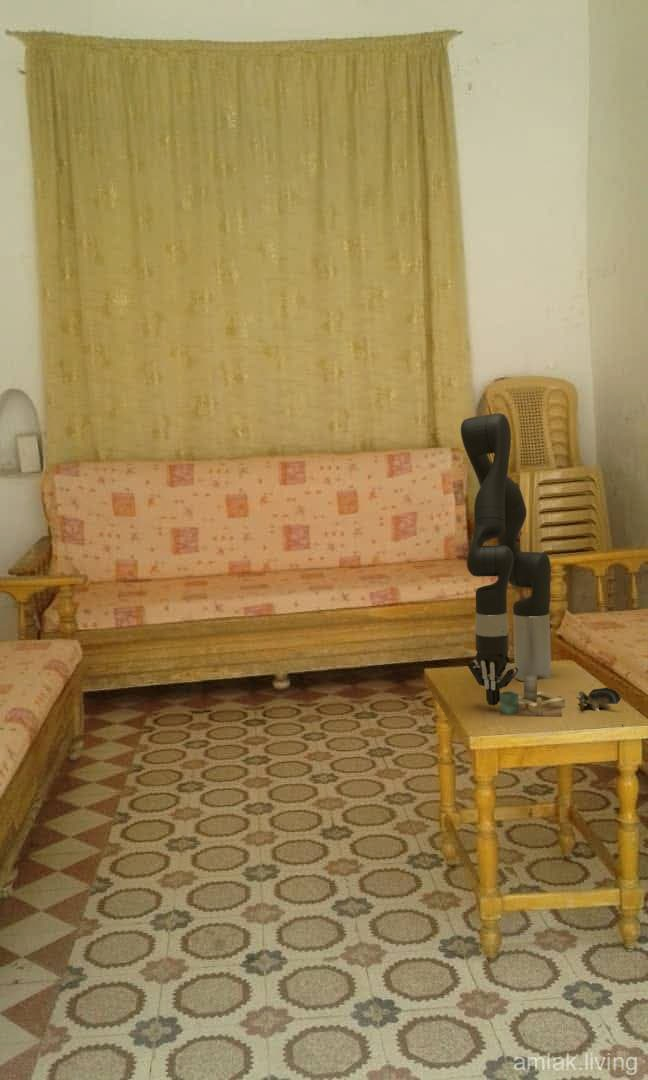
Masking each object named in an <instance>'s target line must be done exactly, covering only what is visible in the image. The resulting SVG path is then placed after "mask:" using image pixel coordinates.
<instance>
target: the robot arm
mask: <svg viewBox="0 0 648 1080" xmlns="http://www.w3.org/2000/svg"><path fill="white" fill-rule="evenodd" d="M510 425H511V424H510V422H509V419H508V418H507V416H506V415H505V414H503V413H500V412H499V413H497V412H496V413H490V414H483V415H478V416H473V417H472V416H471V417H468V418H465V419H463V421H462V423H461V425H460V436H461V440H462V444H463V447H464V450H465V452H466V454H467V455H466V456H467V457H468V459H469V461H470V464H471V466H472V469H473V471H474V473H475V475H476V479H477V480H478V484H479V486H480V488H479V489H478V491H477V493H476V496H475V499H474V507H473V510H474V511H473V512H474V513H473V515H474V518H473V519H474V520H473V521H474V522H473V523H474V527H473V535H472V540H471V544H470V546H469V550H468V554H467V558H466V568H467V571H468V572H469V573H470V574H471V575H472V576H473V577H498V578H497V580H495V582H494V583H491V584H488V585H483V586H480V587H478V588H477V589H476V590H475V621H474V629H475V631H474V632H475V634H474V635H475V636H474V637H475V639H474V640H475V651H476V655H475V659H474V660H472V661H470V662H468V663H467V667H468V669H469V671H470V672H471V674H472V675H473V677H474V679H475V680H476V682H477V683H478V685H479V686H482V687H484V688H485V695H486V697H485V698H486V699H485V700H486V702H487V705H488V706H496V705H498V704H499V703H500V693H501V692H500V690H502V689H503V688H506V687H507V686H509V684H510V682H512V680H513V679H516V680H518V681H522V682H524V676H525V675H535V676H537V681H538V680H545V679H546V680H547V679H551V678H552V672H551V671H552V669H551V667H552V666H551V665H552V663H551V661H552V660H551V631H550V630H551V624H550V623H551V622H550V604H551V581H552V579H551V578H552V572H551V571H552V568H551V566H552V565H551V561H550V558H549V556H548V554H547V553H545V552H540V551H539V552H536V551H521V550H520V548H519V545H518V537H519V534H520V532H521V530H522V528H523V526H524V523H525V521H526V518H527V507H526V503H525V501H524V497H523V493H522V492H521V488H520V487H519V485H518V484H516V482H515V481H514V480H512V479H511V478H510V477H509V476H508V472H509V463H510V454H511V445H512V442H511V441H512V431H511V426H510ZM489 454H493V455H494V456H493V460H492V461H491V460H490V457H489V456H488V455H489ZM494 539H497V543H498V545H484V544H485V543H486V542H487V541H490V540H494ZM509 584H510V585H511V586H513V587H516V588H528V589H529V588H531V589H532V590H531V595H530V596H528V597H526V598H522V599H519V600H517V601H515V602H514V603H513V605H512V611H513V612H512V614H513V615H512V617H513V621H512V622H513V643H514V644H513V645H514V647H513V648H514V653H513V654H514V666H513V665H511V663H510V658H509V656H508V655H509V654H508V653H509V619H508V608H507V607H508V606H507V605H508V603H507V600H508V599H507V598H508V597H507V594H508V593H507V592H508V586H509Z"/></svg>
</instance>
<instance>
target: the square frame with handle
mask: <svg viewBox="0 0 648 1080" xmlns="http://www.w3.org/2000/svg"><path fill="white" fill-rule="evenodd" d="M556 696H557V695H553V694H550V693H546V692H543V691H540V690H537V698H542V712H544V711H549V710H553V709H558V708H562V709H563V708H565V707H566V704H565V703H566V701H565V698H562V697H561V698H559V697H556ZM499 706H500V708H499V713H500V712H503V713H505V714H508V715H509V714H514V713H518V712H522V711H528V712H531V713H534V714H535V713H537V702H536V703H535V702H532V701H529V700H526V699H524V694H521V695H519V693H518V692H514V691H512V690H507V691H504V692H500V701H499Z"/></svg>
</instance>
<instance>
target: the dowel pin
mask: <svg viewBox="0 0 648 1080" xmlns="http://www.w3.org/2000/svg"><path fill="white" fill-rule="evenodd" d="M537 716H542V698H537Z"/></svg>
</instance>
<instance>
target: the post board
mask: <svg viewBox="0 0 648 1080" xmlns="http://www.w3.org/2000/svg"><path fill="white" fill-rule="evenodd" d="M537 692H538V680H537V676H535V675H525V676H524V681H523V695H524V699H526V700H529V701H532V702H535V703H536V702H537ZM555 696H556V697H559V698H562V696H561V695H555ZM498 716H499V717H529V718H530V717H532V718H533V717H534V718H535V717H540V718H541V717H542V718H543V717H545V718H546V717H548V718H550V717H551V718H553V717H555V718H556V717H557V718H562V717H563V707H562V708H558V709H553V710H549V711H544V712H542V716H537V713H535V714H534V713H531V712H528V711H522V712H518V713H514V714H509V715H508V714H505V713H503V712H500V711H499V713H498Z"/></svg>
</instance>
